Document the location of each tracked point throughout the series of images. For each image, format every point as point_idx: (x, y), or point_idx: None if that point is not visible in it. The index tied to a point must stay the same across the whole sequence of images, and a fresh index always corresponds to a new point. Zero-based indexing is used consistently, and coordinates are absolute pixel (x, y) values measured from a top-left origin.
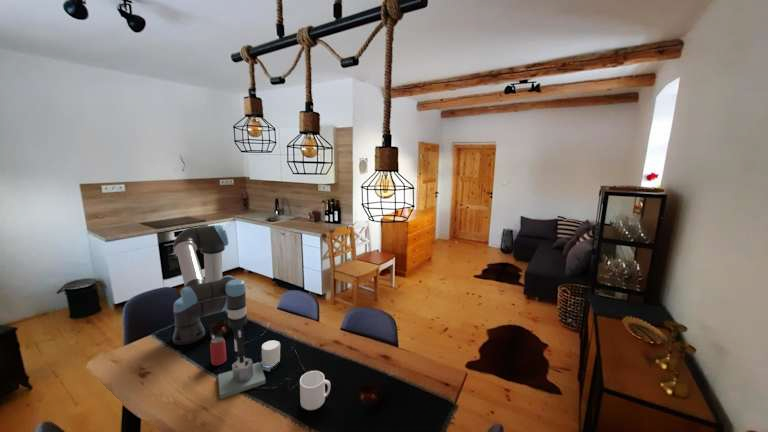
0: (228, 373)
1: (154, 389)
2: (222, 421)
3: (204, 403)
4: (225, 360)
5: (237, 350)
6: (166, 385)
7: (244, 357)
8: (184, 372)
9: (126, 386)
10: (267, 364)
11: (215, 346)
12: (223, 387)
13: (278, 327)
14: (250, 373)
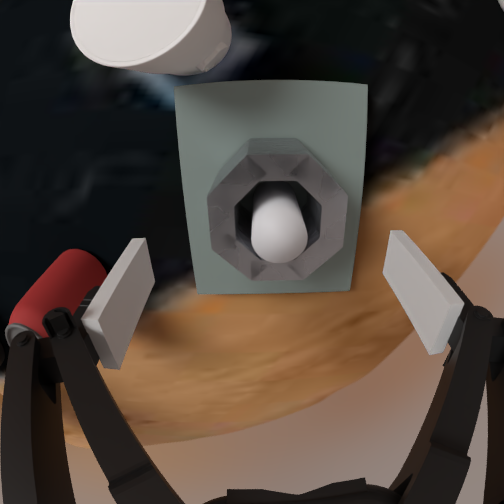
0: (208, 254)
1: (183, 411)
2: (451, 273)
3: (332, 322)
4: (87, 254)
5: (439, 386)
6: (175, 395)
7: (444, 282)
8: (124, 363)
9: (152, 436)
10: (228, 46)
11: None
12: (310, 278)
13: None
14: (317, 160)
